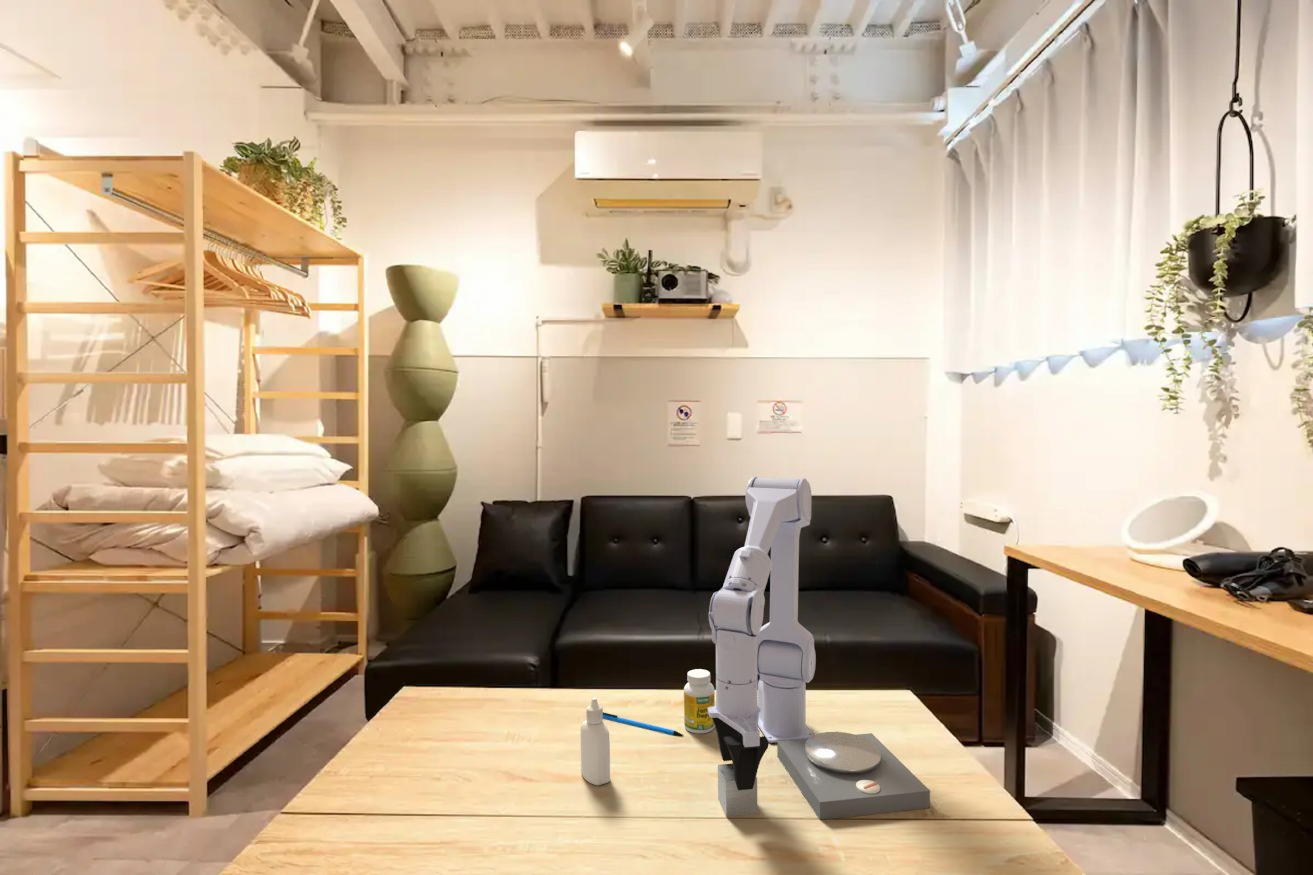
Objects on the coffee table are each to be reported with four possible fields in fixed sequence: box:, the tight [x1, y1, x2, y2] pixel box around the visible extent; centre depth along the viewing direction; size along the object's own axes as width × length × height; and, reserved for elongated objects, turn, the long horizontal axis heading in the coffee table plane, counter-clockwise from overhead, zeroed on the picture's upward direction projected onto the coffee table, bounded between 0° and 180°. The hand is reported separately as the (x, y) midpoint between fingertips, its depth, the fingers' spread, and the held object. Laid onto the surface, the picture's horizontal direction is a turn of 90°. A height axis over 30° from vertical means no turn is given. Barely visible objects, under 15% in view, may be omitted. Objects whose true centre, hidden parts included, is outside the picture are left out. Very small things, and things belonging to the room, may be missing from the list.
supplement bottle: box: [683, 668, 716, 735], centre depth 117 cm, size 5×5×10 cm
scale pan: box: [805, 731, 881, 773], centre depth 102 cm, size 11×11×1 cm
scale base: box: [776, 732, 931, 821], centre depth 100 cm, size 17×16×3 cm
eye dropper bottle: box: [580, 697, 611, 787], centre depth 101 cm, size 4×6×12 cm
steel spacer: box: [717, 762, 758, 818], centre depth 94 cm, size 4×4×5 cm
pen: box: [603, 711, 684, 737], centre depth 119 cm, size 1×19×1 cm, turn 62°
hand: (737, 773), depth 93 cm, fingers open, 7 cm apart
